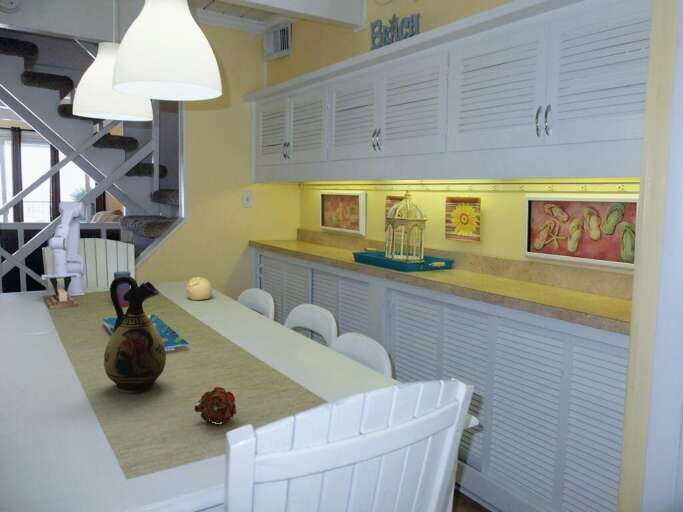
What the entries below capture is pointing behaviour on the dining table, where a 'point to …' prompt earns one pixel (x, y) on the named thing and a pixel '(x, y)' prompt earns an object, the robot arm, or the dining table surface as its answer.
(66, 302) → the rack
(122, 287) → the cup
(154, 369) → the ceramic jug
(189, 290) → the sculpture
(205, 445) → the dining table surface
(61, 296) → the clay bar
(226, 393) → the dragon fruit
